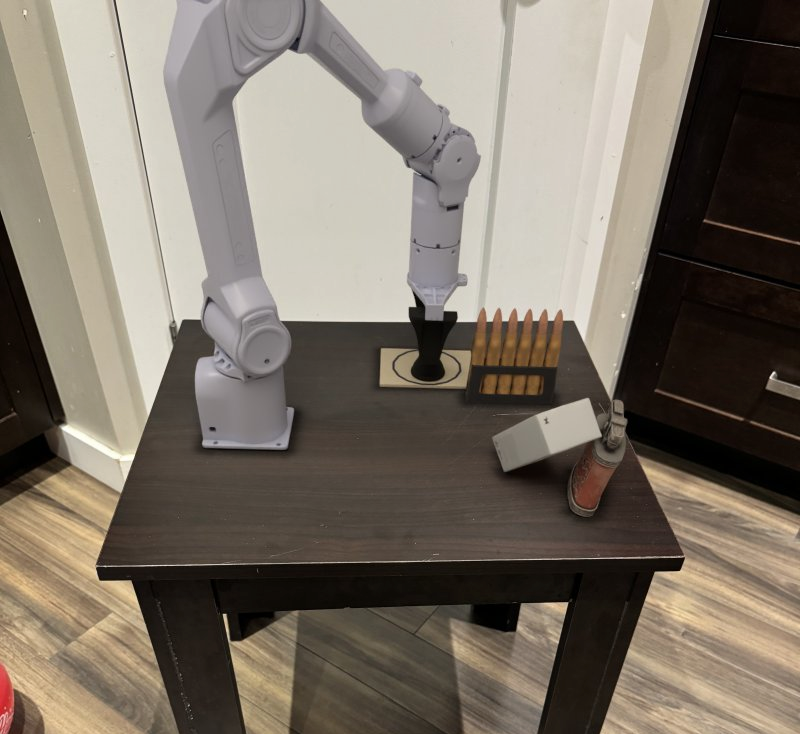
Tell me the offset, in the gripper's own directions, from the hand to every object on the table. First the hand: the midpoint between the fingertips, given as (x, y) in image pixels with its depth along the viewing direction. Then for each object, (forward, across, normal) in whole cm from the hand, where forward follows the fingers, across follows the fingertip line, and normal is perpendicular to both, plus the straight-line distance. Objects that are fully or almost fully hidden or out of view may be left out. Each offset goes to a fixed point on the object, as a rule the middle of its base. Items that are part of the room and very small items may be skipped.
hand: (428, 347), depth 96 cm
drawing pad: (+4, +2, 0) cm, 4 cm away
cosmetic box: (+2, -17, -10) cm, 20 cm away
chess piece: (+4, 0, 0) cm, 4 cm away
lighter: (+4, -23, -16) cm, 28 cm away
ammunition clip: (+4, -5, -10) cm, 12 cm away
